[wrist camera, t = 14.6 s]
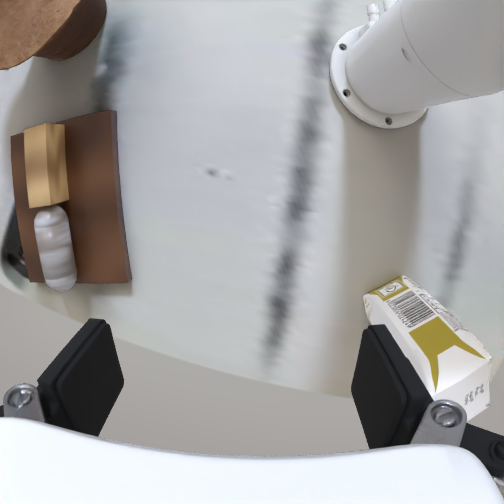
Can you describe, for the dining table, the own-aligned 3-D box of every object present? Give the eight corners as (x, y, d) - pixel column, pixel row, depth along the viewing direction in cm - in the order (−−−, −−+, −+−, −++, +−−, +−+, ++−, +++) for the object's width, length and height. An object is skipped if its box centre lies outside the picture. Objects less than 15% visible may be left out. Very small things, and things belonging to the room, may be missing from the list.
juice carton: (407, 265, 36) (500, 345, 18) (420, 318, 38) (495, 407, 20) (354, 292, 37) (421, 395, 19) (372, 343, 39) (428, 448, 21)
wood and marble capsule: (40, 131, 30) (18, 130, 26) (67, 123, 30) (46, 121, 25) (59, 283, 35) (42, 297, 31) (86, 283, 35) (69, 298, 31)
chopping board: (17, 136, 31) (10, 136, 30) (116, 110, 31) (111, 109, 29) (35, 278, 37) (29, 282, 35) (132, 278, 37) (127, 283, 35)
